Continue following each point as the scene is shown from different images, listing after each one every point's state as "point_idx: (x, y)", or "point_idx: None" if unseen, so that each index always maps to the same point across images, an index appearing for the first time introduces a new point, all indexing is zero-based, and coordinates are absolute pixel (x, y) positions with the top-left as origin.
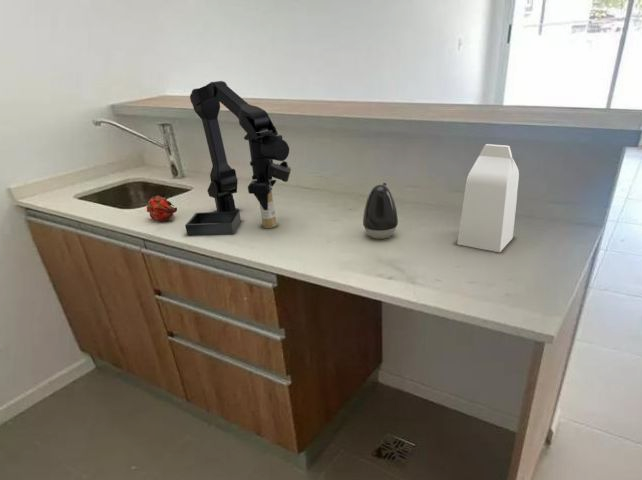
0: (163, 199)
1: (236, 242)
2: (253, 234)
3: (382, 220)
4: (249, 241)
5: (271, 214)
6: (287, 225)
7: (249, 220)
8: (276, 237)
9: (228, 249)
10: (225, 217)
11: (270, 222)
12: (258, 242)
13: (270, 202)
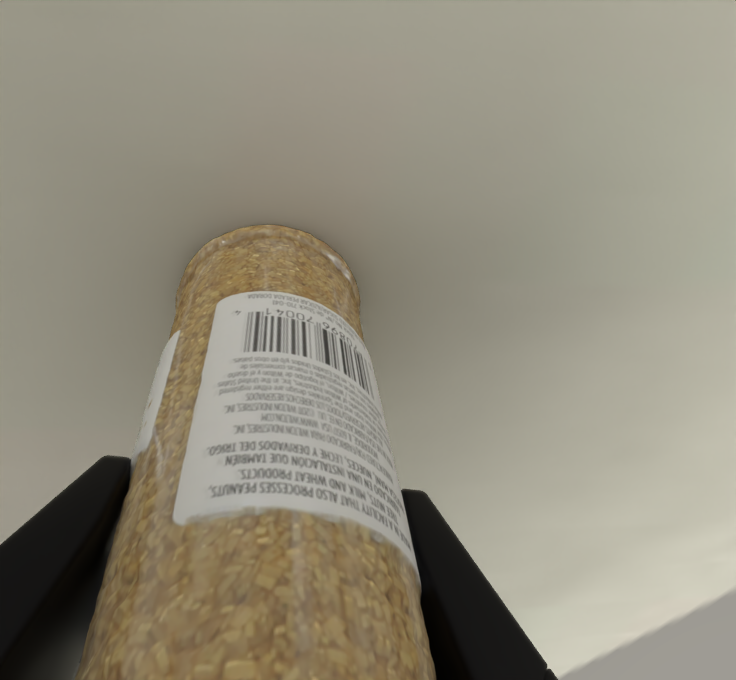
0: None
1: (593, 546)
2: (472, 446)
3: None
4: (630, 471)
5: (369, 371)
6: (308, 56)
7: (42, 483)
8: (685, 241)
9: (698, 578)
10: (75, 671)
11: (360, 326)
12: (704, 408)
13: (397, 542)
